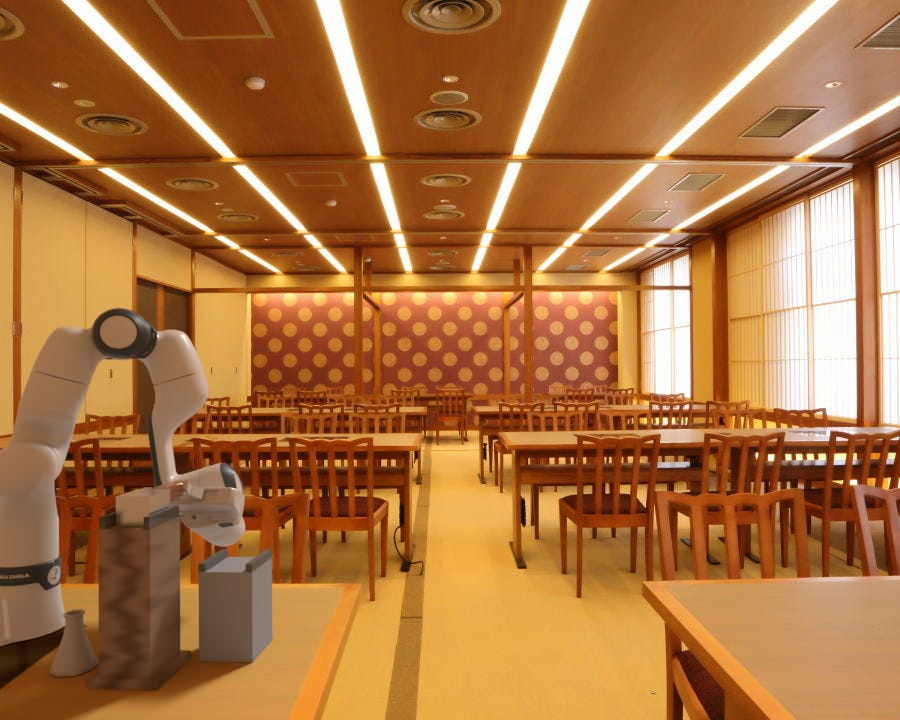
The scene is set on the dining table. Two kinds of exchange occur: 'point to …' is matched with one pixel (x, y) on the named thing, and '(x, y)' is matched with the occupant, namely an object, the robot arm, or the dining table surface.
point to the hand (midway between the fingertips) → (174, 486)
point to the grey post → (235, 607)
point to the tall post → (139, 603)
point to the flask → (73, 648)
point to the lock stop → (145, 503)
